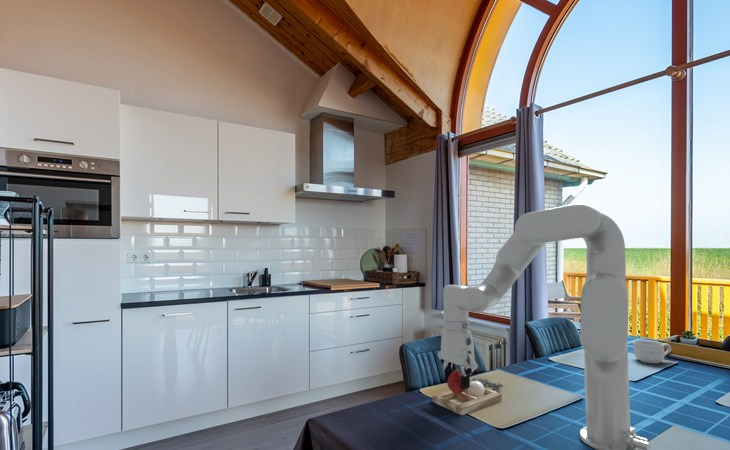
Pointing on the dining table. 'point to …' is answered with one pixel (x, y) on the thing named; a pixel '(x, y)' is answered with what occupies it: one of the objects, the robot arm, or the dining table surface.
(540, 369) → the dining table surface
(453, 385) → the onion
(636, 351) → the teacup
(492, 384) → the grey green leafy sprig
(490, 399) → the holder board
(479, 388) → the ceramic egg
